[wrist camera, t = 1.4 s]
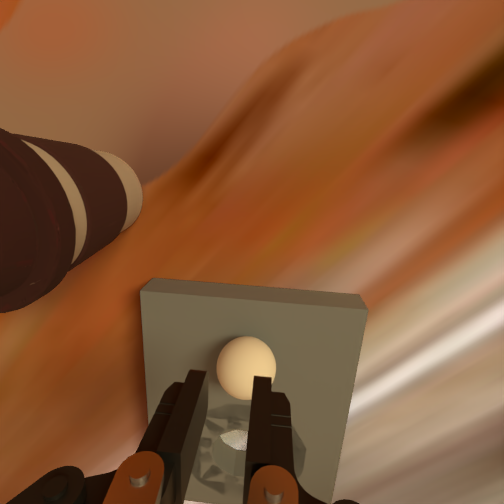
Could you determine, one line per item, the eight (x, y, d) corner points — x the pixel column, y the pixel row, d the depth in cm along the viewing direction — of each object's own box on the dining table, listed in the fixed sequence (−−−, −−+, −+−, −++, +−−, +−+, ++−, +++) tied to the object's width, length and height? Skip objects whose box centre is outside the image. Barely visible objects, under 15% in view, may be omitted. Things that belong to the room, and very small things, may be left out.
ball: (278, 327, 27) (278, 364, 22) (273, 374, 28) (273, 417, 24) (222, 322, 27) (211, 358, 22) (221, 368, 29) (210, 411, 24)
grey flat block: (359, 294, 29) (368, 309, 26) (324, 489, 37) (328, 517, 34) (152, 277, 30) (139, 290, 27) (162, 470, 38) (153, 496, 35)
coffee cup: (180, 187, 27) (73, 223, 13) (121, 265, 30) (-22, 366, 15) (87, 109, 25) (-152, 48, 11) (34, 198, 28) (-213, 241, 14)
